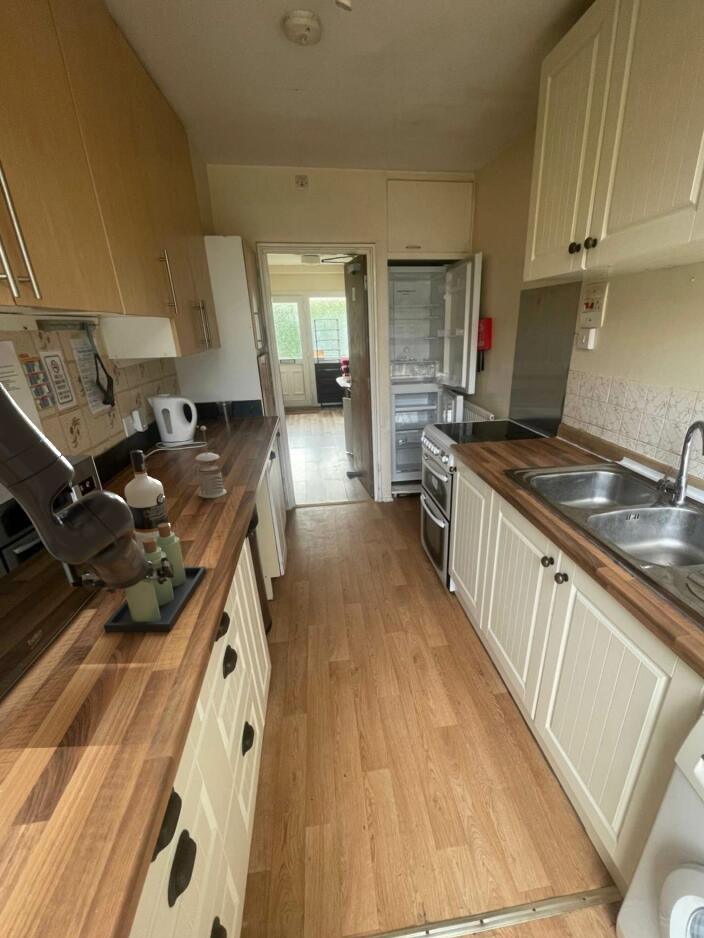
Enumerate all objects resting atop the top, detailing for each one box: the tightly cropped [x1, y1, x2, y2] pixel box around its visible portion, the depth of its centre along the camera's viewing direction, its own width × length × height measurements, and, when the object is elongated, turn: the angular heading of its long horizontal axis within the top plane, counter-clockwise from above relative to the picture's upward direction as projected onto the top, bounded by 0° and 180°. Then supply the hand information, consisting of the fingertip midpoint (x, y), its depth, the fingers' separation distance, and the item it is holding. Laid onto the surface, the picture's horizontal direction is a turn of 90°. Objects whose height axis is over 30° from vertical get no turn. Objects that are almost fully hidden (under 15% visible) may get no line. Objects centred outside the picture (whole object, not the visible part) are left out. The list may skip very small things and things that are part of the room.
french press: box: [192, 425, 227, 499], centre depth 153 cm, size 10×12×25 cm
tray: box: [103, 565, 207, 634], centre depth 96 cm, size 13×23×2 cm, turn 3°
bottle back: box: [155, 522, 186, 587], centre depth 100 cm, size 5×5×15 cm
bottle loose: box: [123, 576, 161, 622], centre depth 86 cm, size 5×5×15 cm
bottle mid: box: [142, 538, 174, 606], centre depth 93 cm, size 5×5×15 cm
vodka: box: [124, 449, 172, 550], centre depth 106 cm, size 9×9×30 cm
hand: (137, 583), depth 86 cm, fingers open, 8 cm apart
